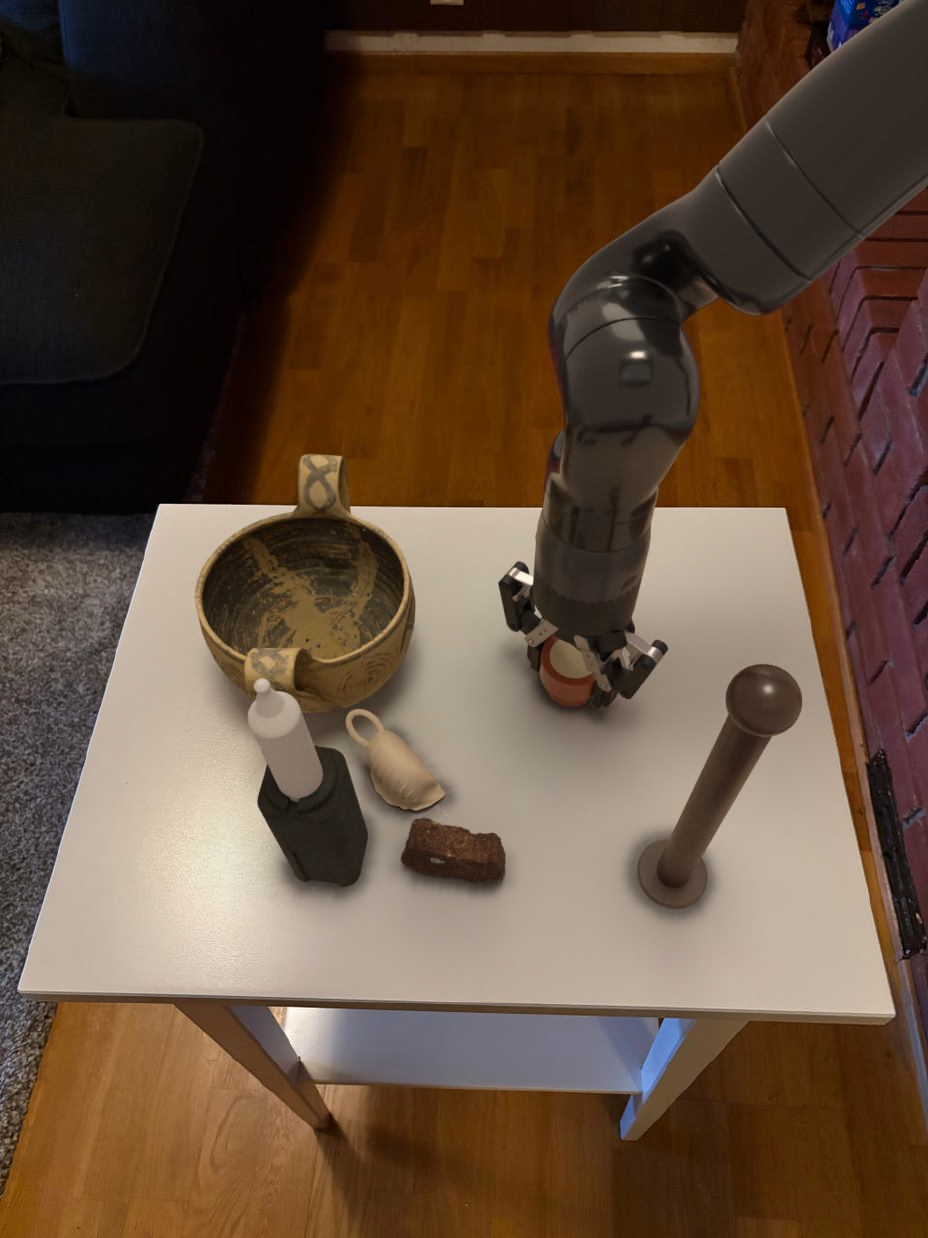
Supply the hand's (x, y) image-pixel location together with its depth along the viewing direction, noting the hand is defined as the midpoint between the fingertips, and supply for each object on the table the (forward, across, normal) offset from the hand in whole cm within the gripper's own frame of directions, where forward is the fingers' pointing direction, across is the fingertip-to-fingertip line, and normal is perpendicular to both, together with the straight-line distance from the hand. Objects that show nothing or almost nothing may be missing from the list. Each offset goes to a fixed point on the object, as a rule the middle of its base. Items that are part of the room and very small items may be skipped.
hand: (570, 680), depth 73 cm
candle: (+1, +6, +23) cm, 24 cm away
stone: (+1, -2, +18) cm, 18 cm away
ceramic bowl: (+1, +19, +11) cm, 21 cm away
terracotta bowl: (+1, 0, 0) cm, 1 cm away
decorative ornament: (+1, +6, +15) cm, 16 cm away
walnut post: (+1, -15, +9) cm, 17 cm away
